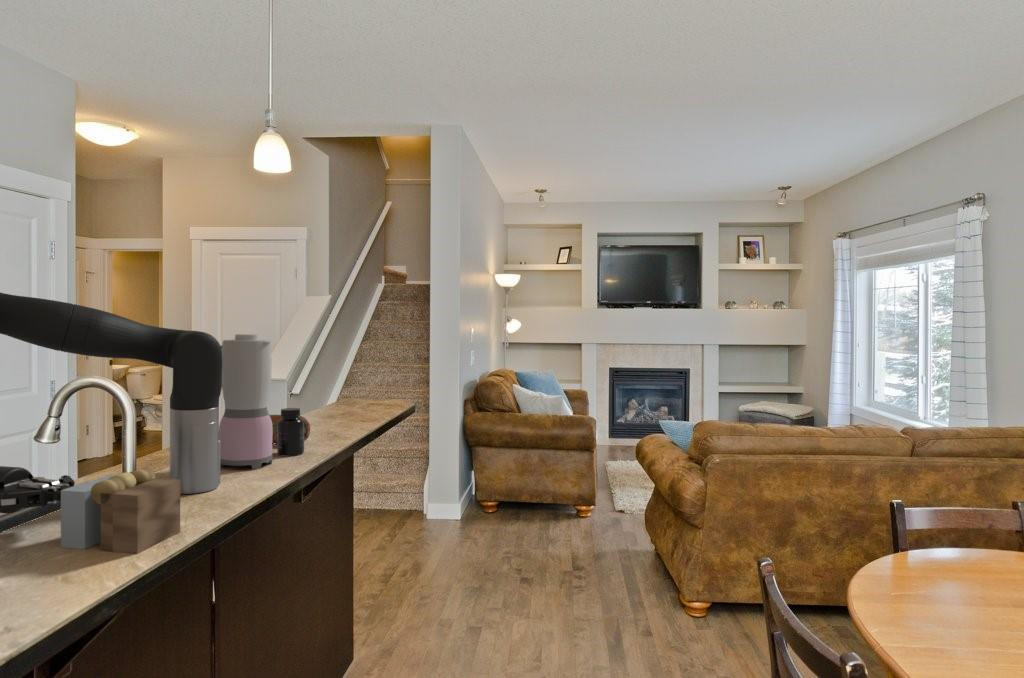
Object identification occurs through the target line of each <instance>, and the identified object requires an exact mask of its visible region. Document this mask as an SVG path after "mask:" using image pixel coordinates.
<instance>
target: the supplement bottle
mask: <svg viewBox="0 0 1024 678" xmlns="http://www.w3.org/2000/svg"><path fill="white" fill-rule="evenodd" d="M280 415H281V417H282V419H280V420H279V421H278V422H277V444H276V451H277V452H276V453H277V455H278V454H279V456H281V455H295V456H299V455H298V454H300V455H303V454H304V453H305V441H304V421H303V420H302V419H301V418H299V416H301V408H298V407H285V408H282V409H280Z"/></svg>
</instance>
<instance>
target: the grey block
mask: <svg viewBox="0 0 1024 678" xmlns="http://www.w3.org/2000/svg"><path fill="white" fill-rule="evenodd" d="M129 472H130V471H129ZM129 472H127V471H126V472H125V471H124V472H123V473H118V474H109V475H105V476H102V477H99V478H96V479H92V480H89V481H87V482H84V483H80V484H77V485H74V486H73V487H70V488H67V489H64V490H61V502H60V547H61V548H64V549H65V548H66V549H75V550H76V549H77V550H86V548H87V549H88V548H91V547H93V546H95V545H97V544H99V543H100V544H101V504H98V503H96V502H95V501H94V500H93V499H92V497H91V488H92V486H93V485H94V484H96V483H98V482H101V481H104V480H107V479H110V478H114V477H116V478H119V479H121V480H122V481H123V483H124V485H125V489H128V488H131V487H134V486H136V478H135V477H134V475H133V474H131V473H129Z"/></svg>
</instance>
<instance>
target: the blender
mask: <svg viewBox="0 0 1024 678" xmlns="http://www.w3.org/2000/svg"><path fill="white" fill-rule="evenodd" d="M220 346H221V350H222V388H221V391H222V398H223V400H224V412H223V415H222V418H221V419H220V420H219V440H220V442H221V457H220V468H223V465H226V466H240V467H241V466H251V470H253V469H254V470H258V469H257V468H260V469H261V468H262V464H263V463H268V464H269V465H271V464H270V463H272V464H273V454H274V453H273V444H272V435H273V427H272V420H271V418H270V416H269V415H270V414H269V411H268V401H269V396H270V391H271V385H272V343H271V341H270V340H269V339H259V334H255V333H253V334H252V333H251V334H250V333H242V334H241V333H240V334H237V333H236V334H235V335H234V339H223V340H222V345H220Z"/></svg>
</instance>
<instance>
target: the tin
mask: <svg viewBox="0 0 1024 678" xmlns="http://www.w3.org/2000/svg"><path fill="white" fill-rule="evenodd" d="M269 416H270V418H271V420H272V427H273V435H272V443H277V422H278V421H279V420H280V419H282V417H281V414H269ZM299 418H301V419H302V420H303V421H304V442H305V441H307V440H308V438H309V436H310V433H311V424H310V422H309V421H308V420H307V418H306V417H304V416H302V415H300V416H299Z"/></svg>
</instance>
